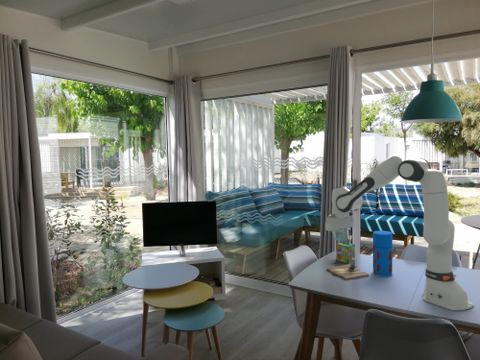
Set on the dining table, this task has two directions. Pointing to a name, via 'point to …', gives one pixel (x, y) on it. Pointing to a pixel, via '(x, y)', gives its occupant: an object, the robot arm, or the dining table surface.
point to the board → (347, 272)
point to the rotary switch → (340, 235)
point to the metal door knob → (352, 265)
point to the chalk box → (345, 251)
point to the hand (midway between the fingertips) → (339, 236)
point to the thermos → (382, 253)
